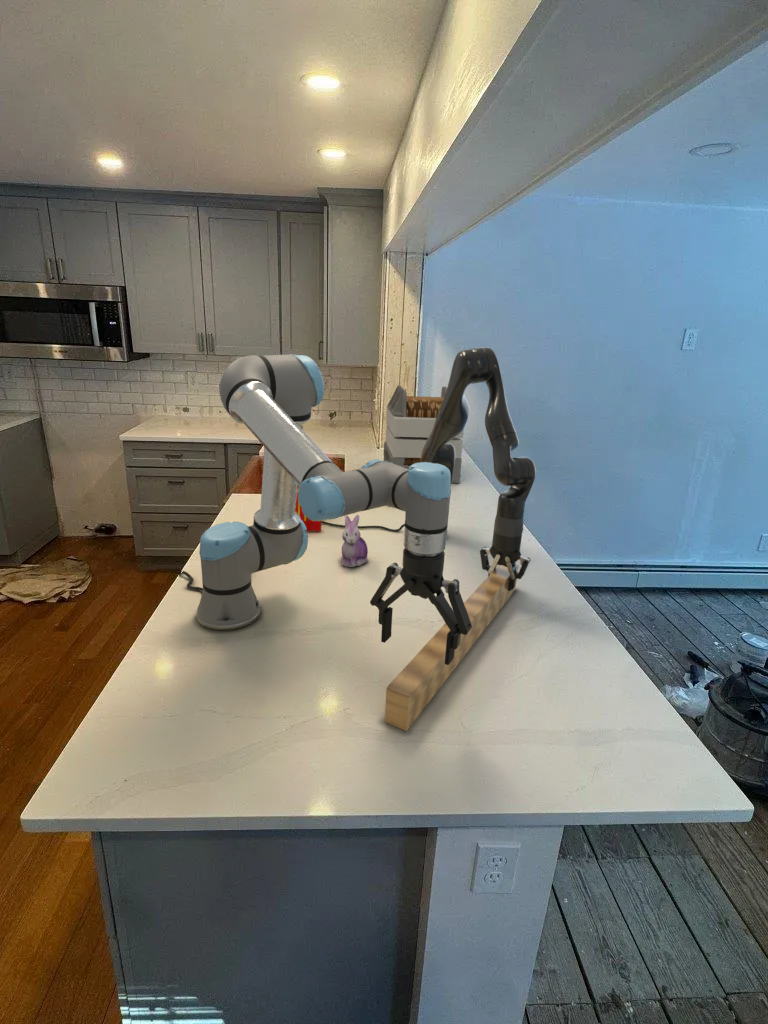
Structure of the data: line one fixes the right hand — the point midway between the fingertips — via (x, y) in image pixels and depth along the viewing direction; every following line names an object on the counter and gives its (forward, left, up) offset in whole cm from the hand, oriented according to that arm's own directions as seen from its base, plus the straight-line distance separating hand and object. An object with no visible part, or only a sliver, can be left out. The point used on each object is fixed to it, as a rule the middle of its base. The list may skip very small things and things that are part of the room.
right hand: (500, 587), depth 157 cm
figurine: (-45, -8, -3) cm, 46 cm away
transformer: (-84, +92, -3) cm, 125 cm away
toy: (-81, +12, -3) cm, 82 cm away
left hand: (+6, -54, +10) cm, 55 cm away
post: (+3, -27, -3) cm, 27 cm away
